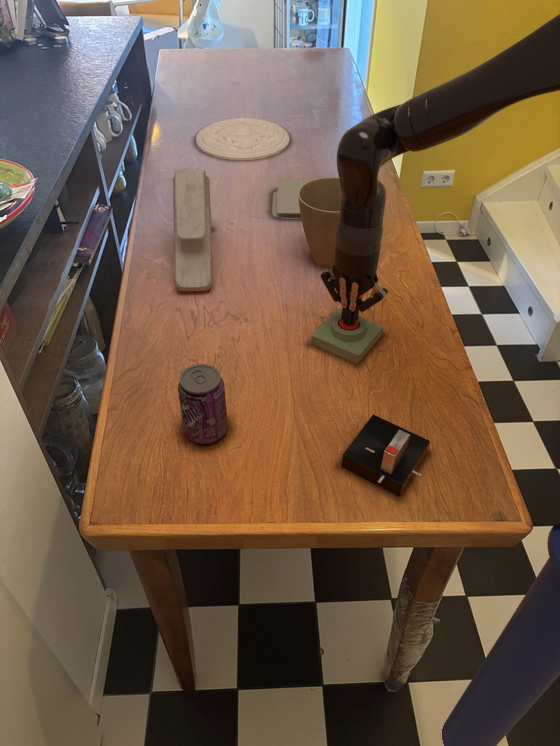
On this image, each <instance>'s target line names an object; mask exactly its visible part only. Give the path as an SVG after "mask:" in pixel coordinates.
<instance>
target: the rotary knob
mask: <svg viewBox="0 0 560 746" xmlns="http://www.w3.org/2000/svg"><path fill="white" fill-rule="evenodd" d="M409 438H410V434H408V433H406V432H404V431H402V430H399V431H398V432H397V434H396V435H395V436H394V438H393V439H392V441H391V442H390V444H389V445H388V446H387V448H386V449H385V451H384V455H383V460H382V465H381V469H380V470H381V471H383V472H385V473H387V474H389V475H392V473H393V472H394V470H395V469H396V467H397V466H398V464H399V463H400V461H401V460H402V458H403V457H404V455H405V454H406V450H407V446H408V442H409Z"/></svg>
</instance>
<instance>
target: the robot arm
mask: <svg viewBox="0 0 560 746" xmlns="http://www.w3.org/2000/svg"><path fill="white" fill-rule="evenodd" d="M555 92H560V13H558V14H557V15H556V16H554V17H552V18H551V19H549V20H548V21H547V22H545V23H544V24H542V25H540V26H539V27H538V28H536V29H535V30H533V31H532V32H531V33H529V34H528V35H526V36H525V37H523V38H522V39H520V40H518V41H517V42H516V43H513V44H512V45H510V46H509V47H507V48H505V49H504V50H503V51H500V52H499V53H497V54H496V55H494V56H493V57H492V58H490V59H488V60H486V61H485V62H482V63H481V64H479V65H477V66H475V67H473V68H472V69H470V70H468V71H466V72H464V73H462V74H460V75H459V76H458V75H457V76H456V77H454V78H452V79H450V80H448V81H446V82H444V83H441V84H439V85H437V86H435V87H433V88H430V89H428V90H426V91H424V92H421V93H420V94H417V95H415V96H413V97H412V98H410V99H407V100H406V101H403V103H401V104H396V105H394V106H391V107H388V108H386V109H382V110H380V111H378V112H376V113H373V114H371V115H370V116H368V117H366V118H364V119H363V120H361V121H360V122H358V123H356V124H355V125H353V126H352V127H351V128H349V129H347V130H346V131H345V132H344V133H343V135H341V138H340V140H339V143H338V145H337V151H336V169H337V175H338V177H339V182H340V187H341V191H342V197H341V206H340V217H339V222H338V226H337V232H336V246H335V257H334V265H333V267H332V268H327V267H326V269H325V270H323V272H321V274H320V275H319V277H320V279H321V281H322V283H323V284H324V286H325V289H326V290H327V292H328V293H329V295H330V297H331V299H332V300H333V301H334V302H335V303H340V306H341V310H342V315H341V318H342V320H343V323H344V324H347V325H349V326H351V325H352V324H354V323H355V322H356V321H357V320H358V317H359V316H360V312H361V313H364V312H365V311H367V310H369V309H370V308H372V307H373V306H375V305H377V304H378V303H379V302H382V300H383V299H384V298H385V297H386V296H387V295H388V293H389V290H388V289H387V288H385V287H383V288H382V287H381V285H379V283H378V282H379V277H378V275H377V271H378V267H379V261H380V254H381V247H382V246H381V245H382V240H383V234H384V233H383V232H384V226H383V225H384V224H383V223H384V214H385V209H386V202H387V190H386V187H385V185H384V184H383V183H382V181H380V180H379V172H380V168H382V167H383V166H384V165H385V164H386V163H388V162H389V161H390V160H392V159H394V158H396V157H398V156H400V155H403V154H405V153H408V152H411V153H412V152H413V153H416V152H417V153H418V152H423V151H425V150H428V149H432V148H434V147H436V146H438V145H441V144H444V143H446V142H449V141H452V140H454V139H457V138H460V136H463V135H465V134H467V133H469V132H471V131H473V130H474V129H476V128H478V127H479V126H480V125H482V124H483V123H485V122H486V121H487V120H489V119H490V118H492V117H493V116H495V115H497V114H498V113H500V112H501V111H503V110H505V109H507V108H509V107H510V106H513V105H515V104H517V103H520V102H522V101H525V100H528V99H531V98H534V97H539V96H543V95H547V94H551V93H555ZM371 290H372V291H371ZM369 291H371V292H370V296H369V297H368V298H366V299H365V300H363V298H364V296H365V294H366V293H367V292H369Z"/></svg>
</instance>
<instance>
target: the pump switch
mask: <svg viewBox="0 0 560 746" xmlns="http://www.w3.org/2000/svg"><path fill="white" fill-rule="evenodd" d="M341 315H342V308H337V309H336V310H335V311H333V313H332V314H331V315H330V316H329V317H328V318H327V319H326V320H325V321H324V322H323V323H322V324H321V325H320V327H318V328H317V330H316V331H315V332H313V334H312V335H311V345H312V346H315V347H317V348H319V349H322V350H324V351H327V352H329V353H330V354H333V355H335V356H338V357H339V358H342V359H345V360H347V361H349V362H351V363H354V364H356V365H359V363H360V362H361V361H362V360H363V359H364V357H365V356H366V355H367V354H368V353H369V351H370V350H371V349H372V348H373V347H374V346H375V344H377V342H378V341H379V339H381V338H382V336H383V332H384V325H381V324H378V323H375V322H373V321H371V320H368V319H365V318H364V317H362V316H361V315H359V317H358V320H357V321H358V322H359V325H358V329H356V330H353V331H346V330H344V329H341V328H340V327H339V321H340V320H341V319H342V318H341Z"/></svg>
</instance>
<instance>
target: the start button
mask: <svg viewBox="0 0 560 746" xmlns="http://www.w3.org/2000/svg"><path fill="white" fill-rule="evenodd" d="M358 325H359V322H358V321H356V322H355V323H354V324H352V325H351V326H349V325H347V324H344V323H343V320H342V319H341V320H340V321H339V327H340V328H341V329H344V330H346V331H353V330H356V329H358Z"/></svg>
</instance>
